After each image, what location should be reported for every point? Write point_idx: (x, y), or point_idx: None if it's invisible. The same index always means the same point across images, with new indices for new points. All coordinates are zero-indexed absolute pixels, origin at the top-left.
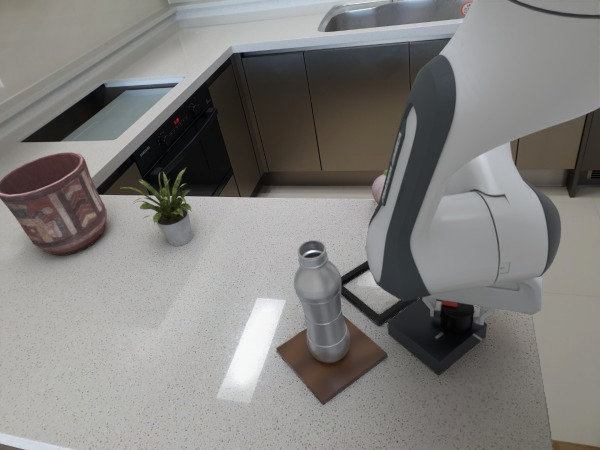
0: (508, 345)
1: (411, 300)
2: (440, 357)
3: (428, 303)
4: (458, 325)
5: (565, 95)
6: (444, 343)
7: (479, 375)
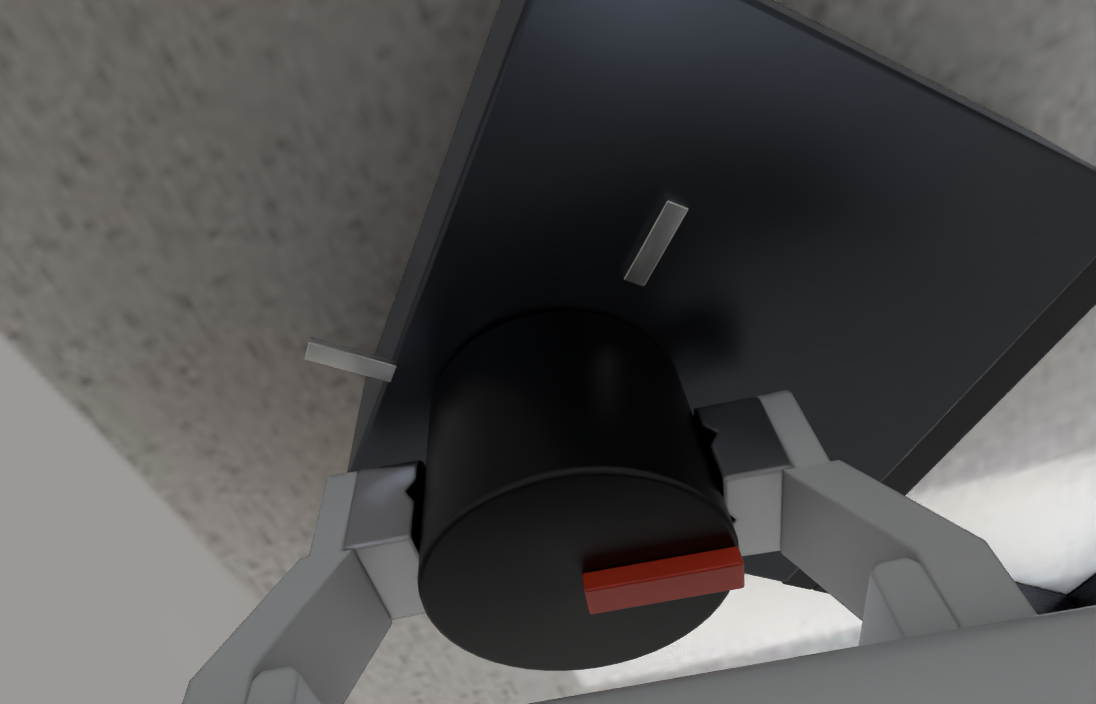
0: (212, 387)
1: None
2: None
3: (890, 521)
4: (511, 399)
5: None
6: (585, 183)
7: (244, 63)
